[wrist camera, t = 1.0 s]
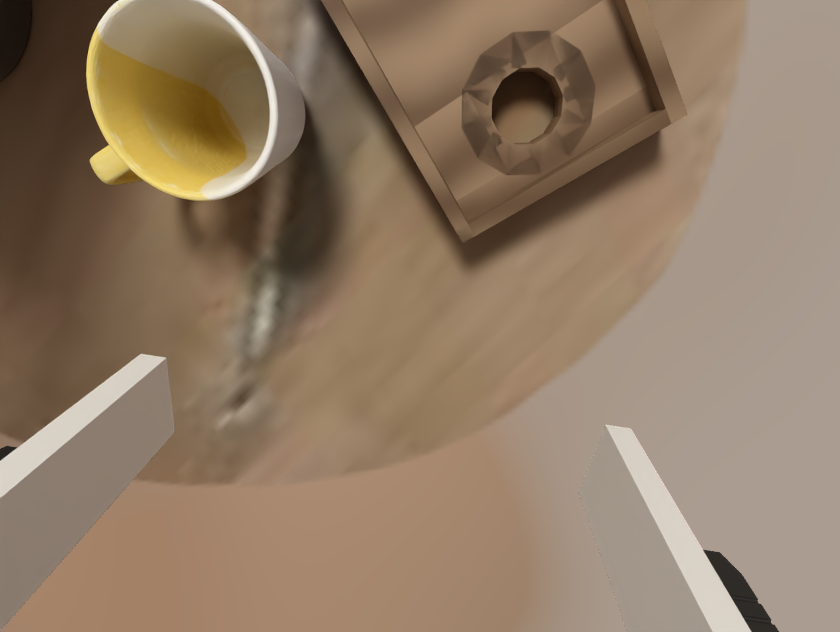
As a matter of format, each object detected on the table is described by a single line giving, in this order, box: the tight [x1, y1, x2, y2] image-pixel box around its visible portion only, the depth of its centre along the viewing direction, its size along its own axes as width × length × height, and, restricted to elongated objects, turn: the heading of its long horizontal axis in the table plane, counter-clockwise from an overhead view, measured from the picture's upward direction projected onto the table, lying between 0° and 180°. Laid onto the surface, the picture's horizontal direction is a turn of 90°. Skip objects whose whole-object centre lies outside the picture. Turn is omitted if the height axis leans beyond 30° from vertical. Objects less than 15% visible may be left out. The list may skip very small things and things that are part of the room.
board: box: [321, 0, 687, 243], centre depth 28 cm, size 22×16×4 cm
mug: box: [86, 0, 305, 201], centre depth 28 cm, size 14×10×10 cm
